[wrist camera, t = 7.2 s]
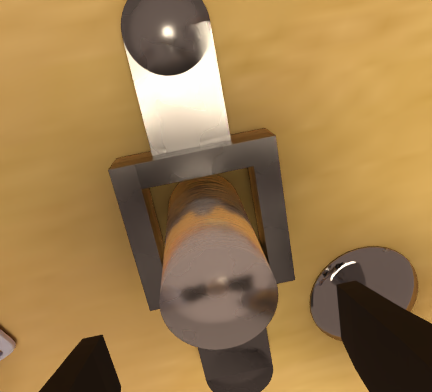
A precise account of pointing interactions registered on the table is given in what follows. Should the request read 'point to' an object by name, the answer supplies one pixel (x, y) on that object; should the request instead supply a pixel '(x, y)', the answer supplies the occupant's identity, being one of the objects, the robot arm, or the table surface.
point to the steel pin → (214, 268)
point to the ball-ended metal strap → (194, 161)
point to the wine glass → (367, 275)
